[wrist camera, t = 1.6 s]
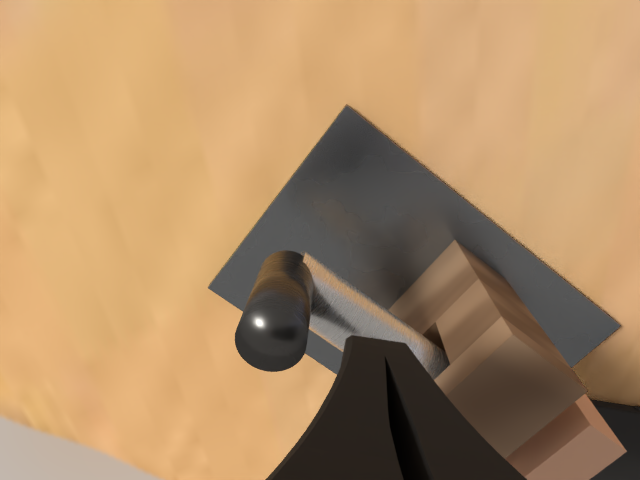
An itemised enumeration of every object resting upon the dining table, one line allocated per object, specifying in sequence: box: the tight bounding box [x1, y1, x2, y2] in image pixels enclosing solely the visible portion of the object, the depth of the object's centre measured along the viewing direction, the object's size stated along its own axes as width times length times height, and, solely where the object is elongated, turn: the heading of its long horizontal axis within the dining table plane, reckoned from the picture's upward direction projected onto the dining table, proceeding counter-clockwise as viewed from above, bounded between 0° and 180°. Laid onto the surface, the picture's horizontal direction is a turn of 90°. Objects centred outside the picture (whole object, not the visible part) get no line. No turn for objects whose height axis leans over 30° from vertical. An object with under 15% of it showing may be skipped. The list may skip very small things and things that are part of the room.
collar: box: [505, 394, 627, 480], centre depth 18 cm, size 2×5×5 cm, turn 142°
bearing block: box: [388, 240, 588, 459], centre depth 18 cm, size 3×7×7 cm, turn 142°
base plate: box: [208, 104, 621, 374], centre depth 22 cm, size 16×10×1 cm, turn 53°
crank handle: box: [235, 250, 450, 380], centre depth 15 cm, size 13×2×5 cm, turn 53°
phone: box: [589, 399, 640, 480], centre depth 25 cm, size 7×1×15 cm
